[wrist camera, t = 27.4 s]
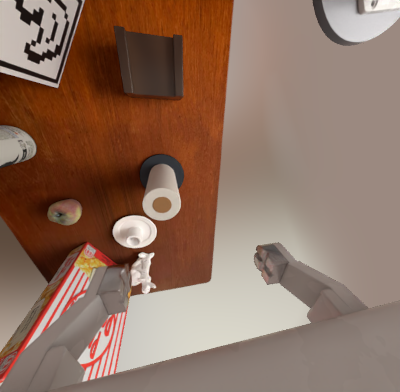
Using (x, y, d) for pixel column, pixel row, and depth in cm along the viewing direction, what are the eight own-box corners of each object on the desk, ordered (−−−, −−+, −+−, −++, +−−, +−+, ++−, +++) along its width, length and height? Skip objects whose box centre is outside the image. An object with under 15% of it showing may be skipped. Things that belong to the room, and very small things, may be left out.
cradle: (179, 52, 30) (183, 35, 24) (180, 100, 34) (183, 96, 27) (123, 45, 28) (112, 25, 22) (131, 97, 32) (123, 92, 25)
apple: (96, 212, 41) (87, 226, 36) (63, 218, 40) (48, 233, 35) (87, 192, 38) (75, 204, 33) (51, 197, 37) (32, 210, 32)
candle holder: (112, 213, 42) (107, 222, 38) (158, 214, 45) (157, 223, 41) (114, 246, 47) (110, 257, 43) (155, 246, 50) (154, 256, 46)
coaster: (183, 153, 39) (183, 154, 38) (183, 193, 44) (184, 194, 43) (136, 154, 37) (136, 154, 36) (143, 195, 42) (142, 196, 41)
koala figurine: (156, 248, 51) (155, 282, 40) (157, 262, 53) (156, 297, 43) (129, 250, 49) (119, 287, 38) (131, 265, 52) (123, 303, 41)
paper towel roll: (144, 222, 27) (139, 189, 24) (150, 188, 40) (148, 163, 38) (181, 219, 28) (180, 187, 26) (175, 186, 42) (174, 163, 39)
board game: (134, 275, 54) (112, 398, 30) (119, 284, 54) (85, 412, 31) (87, 240, 44) (-1, 382, 20) (69, 251, 44) (-38, 403, 21)
